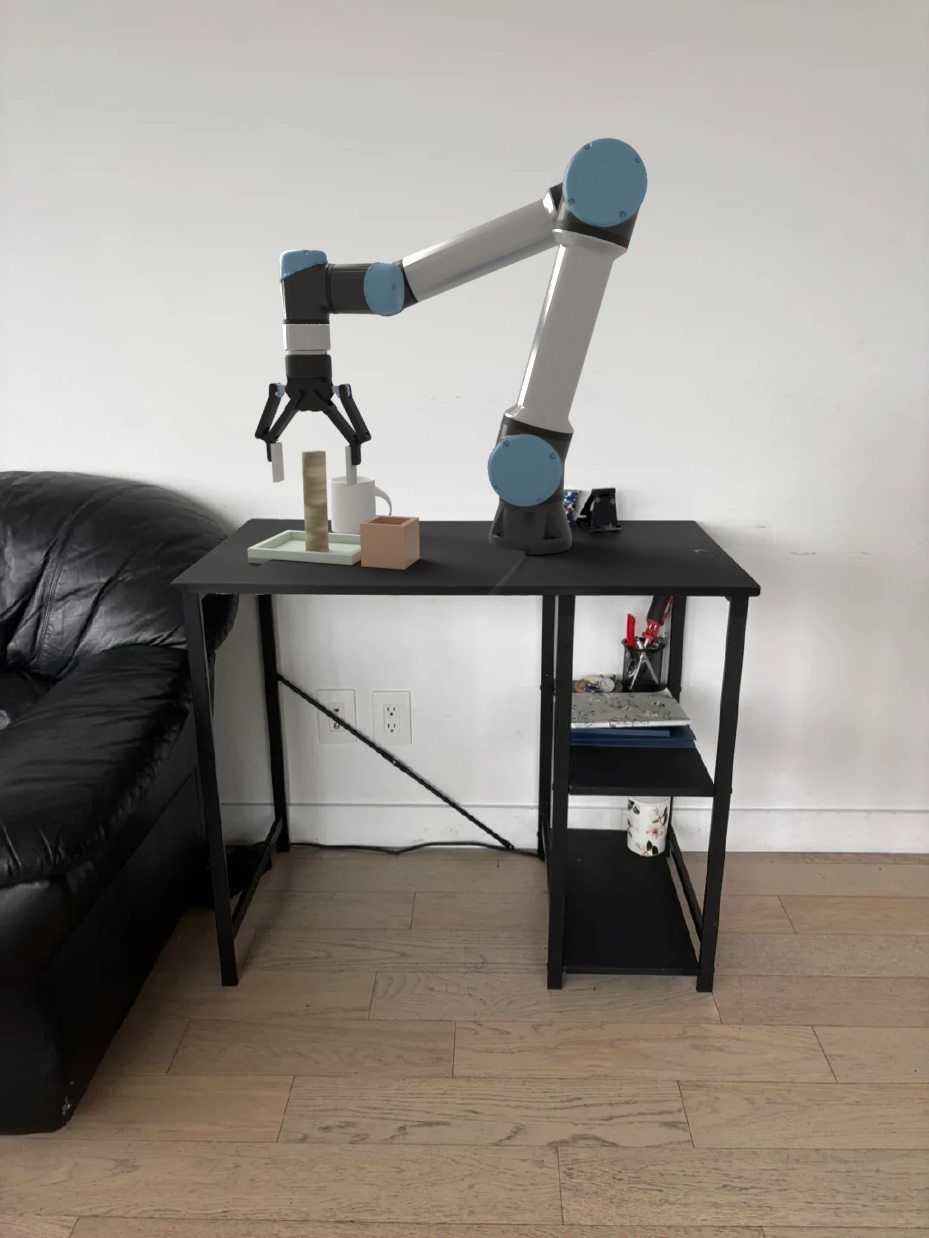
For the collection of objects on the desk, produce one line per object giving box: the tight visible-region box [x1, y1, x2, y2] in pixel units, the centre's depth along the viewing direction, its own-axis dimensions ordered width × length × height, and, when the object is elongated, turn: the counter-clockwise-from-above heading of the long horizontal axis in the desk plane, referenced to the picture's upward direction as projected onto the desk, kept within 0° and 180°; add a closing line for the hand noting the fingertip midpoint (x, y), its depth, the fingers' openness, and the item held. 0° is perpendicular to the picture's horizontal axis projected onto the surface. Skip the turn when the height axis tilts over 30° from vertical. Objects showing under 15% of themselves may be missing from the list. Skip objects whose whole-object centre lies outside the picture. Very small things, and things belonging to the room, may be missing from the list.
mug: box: [329, 475, 393, 535], centre depth 168 cm, size 9×12×11 cm
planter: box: [359, 514, 421, 570], centre depth 145 cm, size 8×8×8 cm
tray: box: [246, 529, 361, 566], centre depth 153 cm, size 19×15×2 cm
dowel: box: [301, 450, 329, 552], centre depth 151 cm, size 4×4×17 cm
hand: (315, 483), depth 149 cm, fingers open, 13 cm apart
